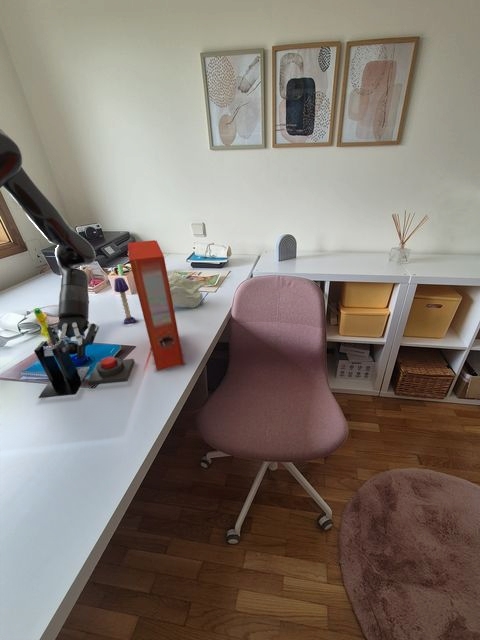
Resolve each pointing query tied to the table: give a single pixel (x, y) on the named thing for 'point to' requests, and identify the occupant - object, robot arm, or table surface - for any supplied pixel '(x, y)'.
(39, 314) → the toy figure
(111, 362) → the disc
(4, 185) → the robot arm
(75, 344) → the lever
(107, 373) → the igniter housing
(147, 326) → the file binder
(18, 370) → the table surface
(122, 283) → the toy lamp
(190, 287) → the wavy plaster lump
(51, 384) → the black stand
